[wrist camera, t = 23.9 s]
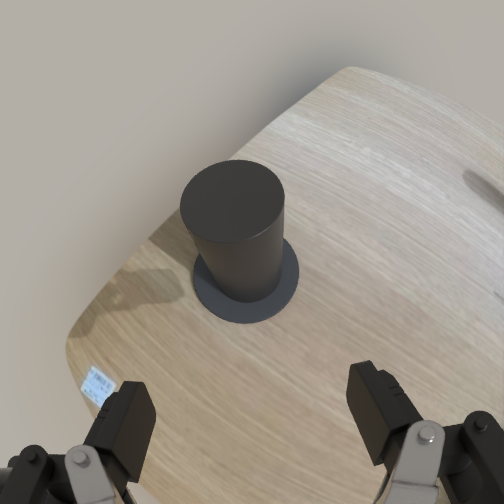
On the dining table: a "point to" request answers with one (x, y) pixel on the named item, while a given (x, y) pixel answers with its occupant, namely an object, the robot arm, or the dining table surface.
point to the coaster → (247, 311)
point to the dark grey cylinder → (237, 226)
